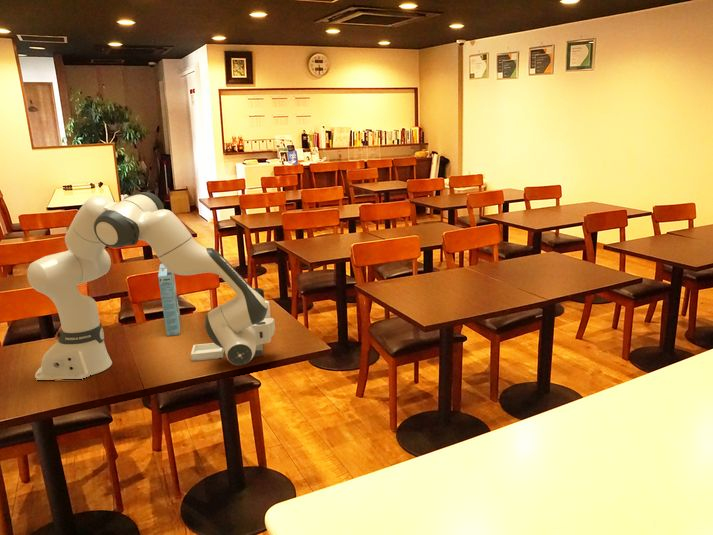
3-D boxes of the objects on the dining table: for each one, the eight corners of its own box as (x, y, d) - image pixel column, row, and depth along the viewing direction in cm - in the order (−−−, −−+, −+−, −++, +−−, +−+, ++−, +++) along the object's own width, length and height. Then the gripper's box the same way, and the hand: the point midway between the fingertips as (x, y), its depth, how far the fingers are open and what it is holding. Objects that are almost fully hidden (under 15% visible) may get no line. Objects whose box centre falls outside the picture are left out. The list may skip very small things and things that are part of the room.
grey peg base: (231, 358, 192) (231, 352, 192) (233, 346, 202) (233, 341, 201) (262, 355, 194) (262, 349, 193) (262, 344, 203) (262, 338, 203)
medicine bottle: (261, 314, 233) (258, 285, 230) (271, 319, 227) (268, 289, 224) (245, 319, 228) (242, 289, 225) (255, 323, 223) (252, 293, 220)
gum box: (180, 334, 215) (172, 275, 209) (165, 336, 214) (157, 276, 208) (180, 317, 234) (173, 262, 227) (167, 319, 232) (159, 263, 226)
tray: (191, 361, 192) (190, 354, 191) (194, 351, 199) (193, 344, 199) (222, 358, 193) (221, 351, 192) (224, 348, 201) (223, 342, 200)
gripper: (209, 347, 182) (213, 330, 195) (275, 341, 185) (275, 326, 198) (207, 328, 180) (211, 313, 193) (274, 323, 183) (273, 308, 196)
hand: (244, 319), depth 196 cm, fingers closed on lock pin, 4 cm apart
